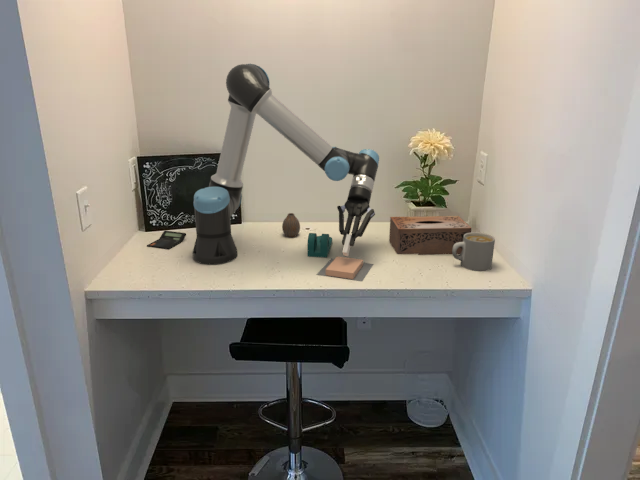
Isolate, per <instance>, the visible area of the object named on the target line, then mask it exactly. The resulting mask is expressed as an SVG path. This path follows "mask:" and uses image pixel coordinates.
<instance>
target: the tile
mask: <svg viewBox="0 0 640 480" xmlns="http://www.w3.org/2000/svg"><path fill="white" fill-rule="evenodd" d="M333 259H334V261H333V262H332V263H331V264H330V265H329V266H328V267H327V268H326V275H328V276H335V277H341V278H348V279H354V277H355V276H356V275H357V273H358V272H359V270H360V269H361V268H362V266H363V263H364V259H360V258H354V257H348V256H346V257H345V256H336V257H335V258H333ZM341 278H340V279H341ZM348 279H347V280H348Z"/></svg>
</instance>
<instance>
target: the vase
mask: <svg viewBox="0 0 640 480" xmlns="http://www.w3.org/2000/svg"><path fill="white" fill-rule="evenodd" d="M281 227H282V228H281V229H282V233H283V234H284V235H285V236H286V237H288V238H295V237H297V236H298V235H299V233H300V231H301V224H300V220H299V219H298V218H297V217H296V214H295V213H293V212H289V213H287V215H286V217H285V218H284V219H283V222H282V225H281Z"/></svg>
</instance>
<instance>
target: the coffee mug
mask: <svg viewBox="0 0 640 480" xmlns="http://www.w3.org/2000/svg"><path fill="white" fill-rule="evenodd" d="M495 243H496V238H495V237H494V236H493V235H491V234H488V233H484V232H476V231H475V232H474V231H473V232H472V231H471V233H466V234H465V235H464V237H463V242H458V243H455V244H454V246H453V248H452V254H451V255H452V257H453V258H454V259H456V260H458V261H460V266H461V267H462V268H464V269H467V270H470V271H474V272H477V271H478V272H486V271H489V270H491V269H492V266H493V264H492V263H493V258H494V257H493V256H494V250H495ZM459 247H462V252H461V254H456V251H457V249H458V248H459Z"/></svg>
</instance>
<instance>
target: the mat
mask: <svg viewBox="0 0 640 480" xmlns="http://www.w3.org/2000/svg"><path fill="white" fill-rule="evenodd" d="M334 259H335V258H333V257H330V259H329V260H328V261H327V262H326V263H325V265H323V267H322V268H321V269H320V270H319V271H318V272H317V273H316V275H317V276H320V277H321V276H322V277H329V278H334V279H335V278H336V279H341V280H342V279H343V280H350V281H356V282H363V281H364V280H365V278H366V277H367V275H368V274H369V272H370V271H371V269H372V268H373V266H374V265H375V264H374V263H369V262H363V266H362V268H361V269H360V270H359V272H358V273H357V275H356V276H355V277H354V279H348V278H341V277H335V276H328V275H326V268H327V267H328V266H329V265H330V264H331V263H332V262H333V261H334Z"/></svg>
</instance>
